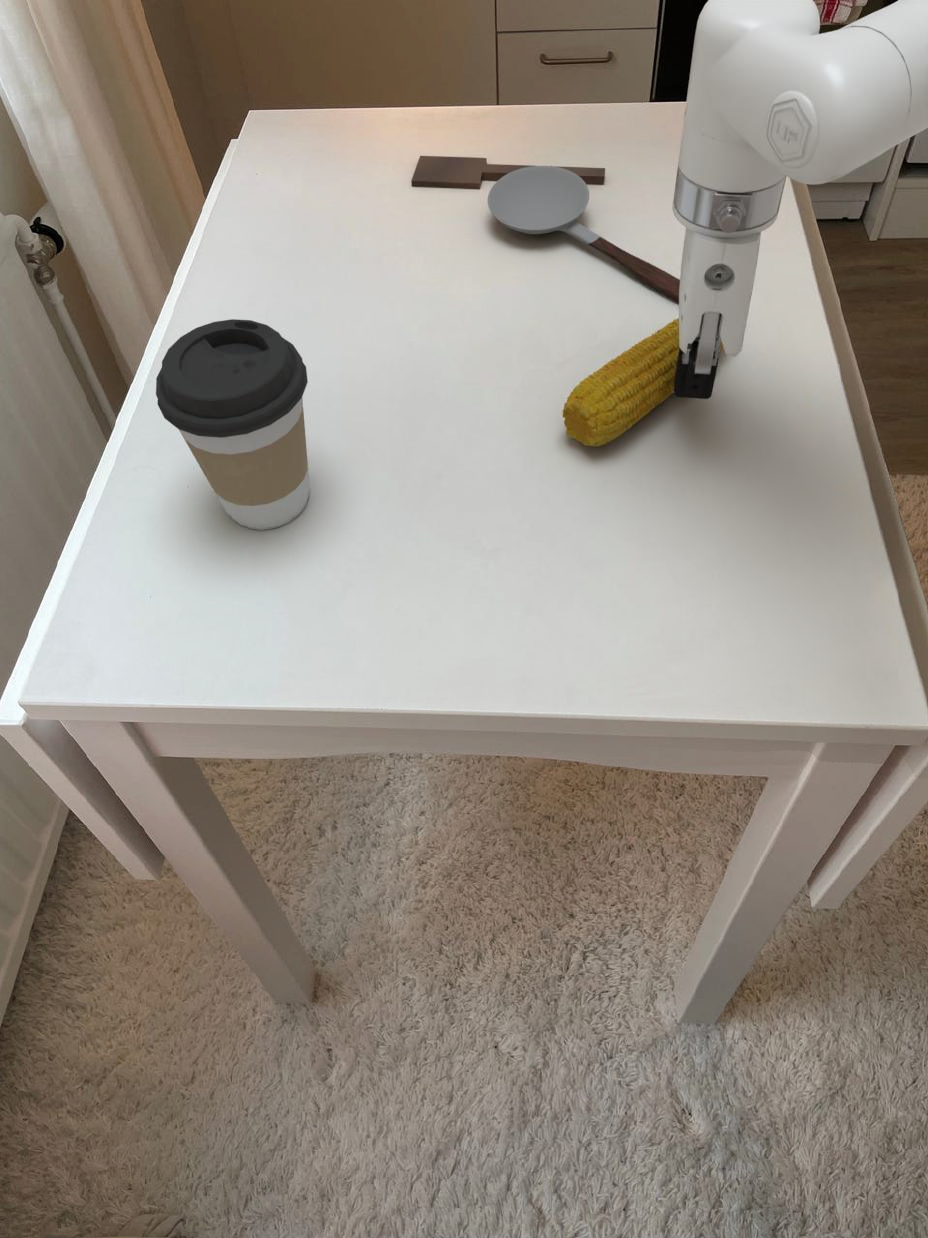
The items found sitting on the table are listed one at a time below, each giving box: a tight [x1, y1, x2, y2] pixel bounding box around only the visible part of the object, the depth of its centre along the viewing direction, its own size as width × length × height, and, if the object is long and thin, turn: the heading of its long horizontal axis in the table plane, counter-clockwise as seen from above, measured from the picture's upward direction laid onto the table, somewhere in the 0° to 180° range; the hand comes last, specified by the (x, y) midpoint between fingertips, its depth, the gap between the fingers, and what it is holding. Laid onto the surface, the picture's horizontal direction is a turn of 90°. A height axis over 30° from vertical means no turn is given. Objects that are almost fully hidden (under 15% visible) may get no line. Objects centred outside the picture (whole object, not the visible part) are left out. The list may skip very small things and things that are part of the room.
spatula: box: [411, 155, 606, 190], centre depth 110 cm, size 22×6×1 cm, turn 81°
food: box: [562, 317, 724, 448], centre depth 85 cm, size 21×6×6 cm, turn 136°
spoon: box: [487, 165, 680, 302], centre depth 99 cm, size 11×33×3 cm, turn 42°
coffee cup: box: [155, 318, 311, 531], centre depth 76 cm, size 11×11×15 cm
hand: (692, 391), depth 83 cm, fingers closed
